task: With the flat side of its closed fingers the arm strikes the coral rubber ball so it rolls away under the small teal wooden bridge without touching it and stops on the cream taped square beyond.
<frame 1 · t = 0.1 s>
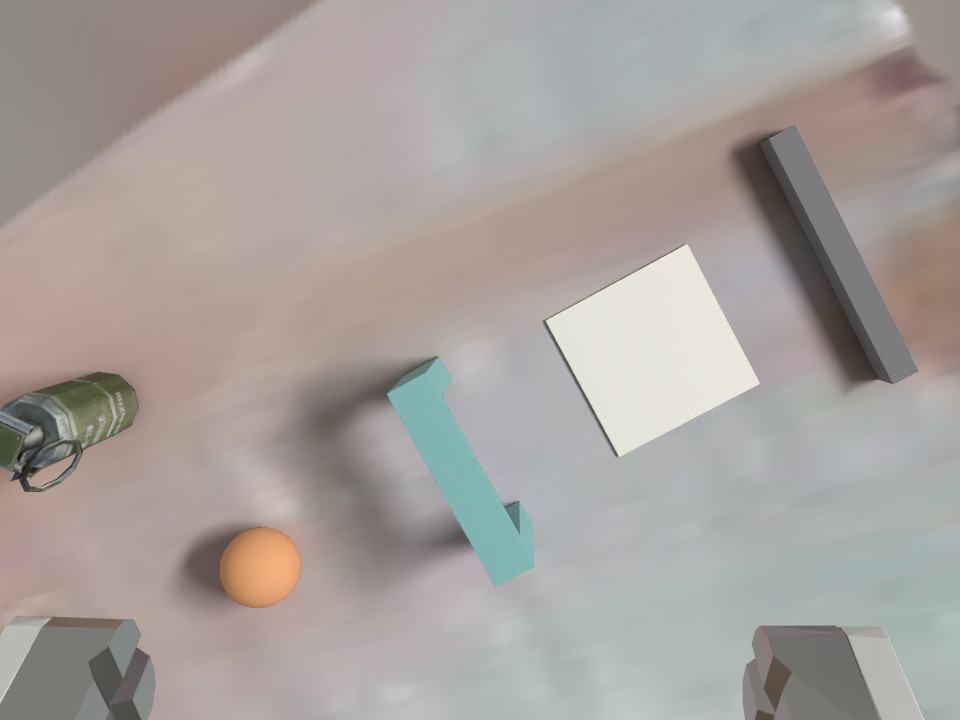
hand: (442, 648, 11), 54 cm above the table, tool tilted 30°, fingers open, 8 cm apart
grenade: (117, 408, 67), on the table
ball: (260, 567, 65), on the table
bridge: (468, 449, 66), on the table
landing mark: (652, 351, 65), on the table
stopper: (831, 256, 64), on the table
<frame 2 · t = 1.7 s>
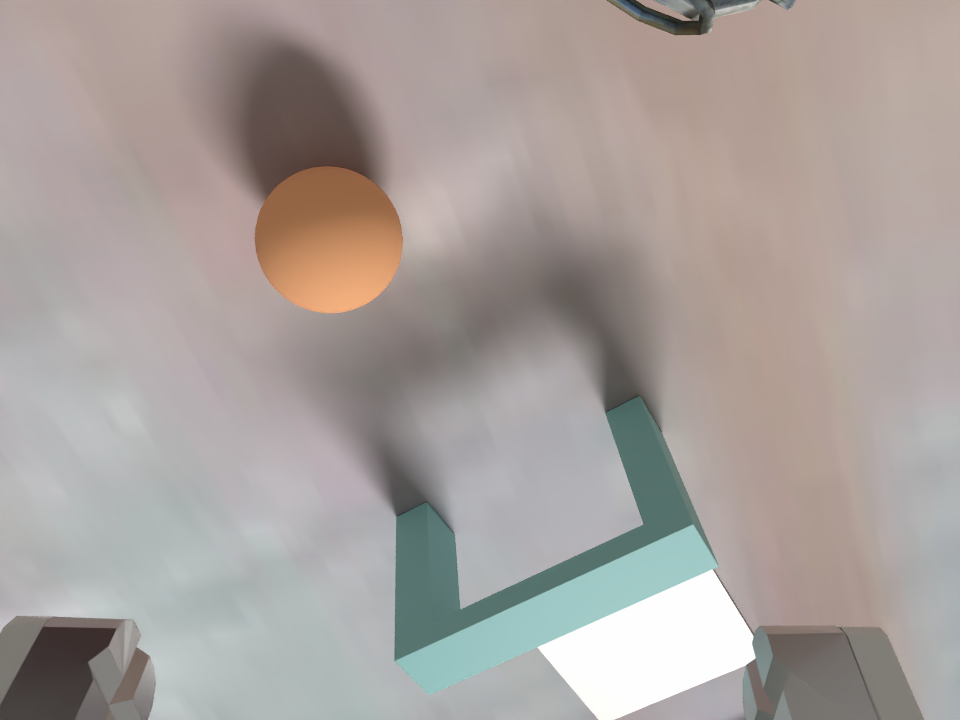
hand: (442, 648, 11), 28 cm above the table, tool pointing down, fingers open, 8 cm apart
ball: (329, 240, 35), on the table
bridge: (527, 476, 46), on the table
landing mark: (645, 639, 54), on the table
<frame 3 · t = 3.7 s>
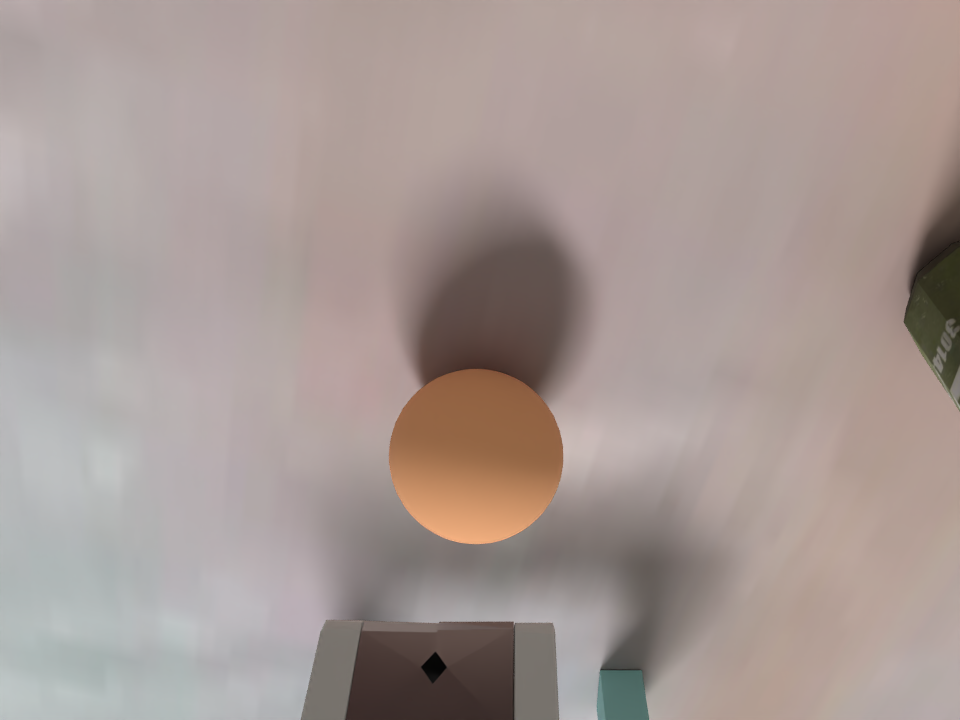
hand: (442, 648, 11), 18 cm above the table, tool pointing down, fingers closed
grenade: (949, 278, 29), on the table
ball: (476, 455, 29), on the table
bridge: (487, 688, 42), on the table
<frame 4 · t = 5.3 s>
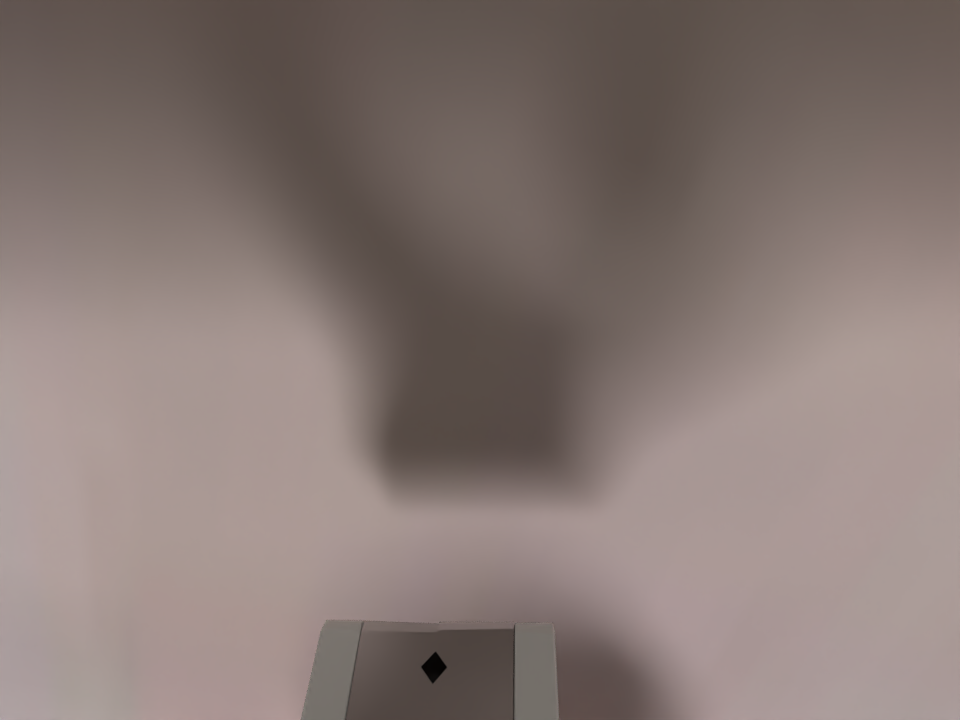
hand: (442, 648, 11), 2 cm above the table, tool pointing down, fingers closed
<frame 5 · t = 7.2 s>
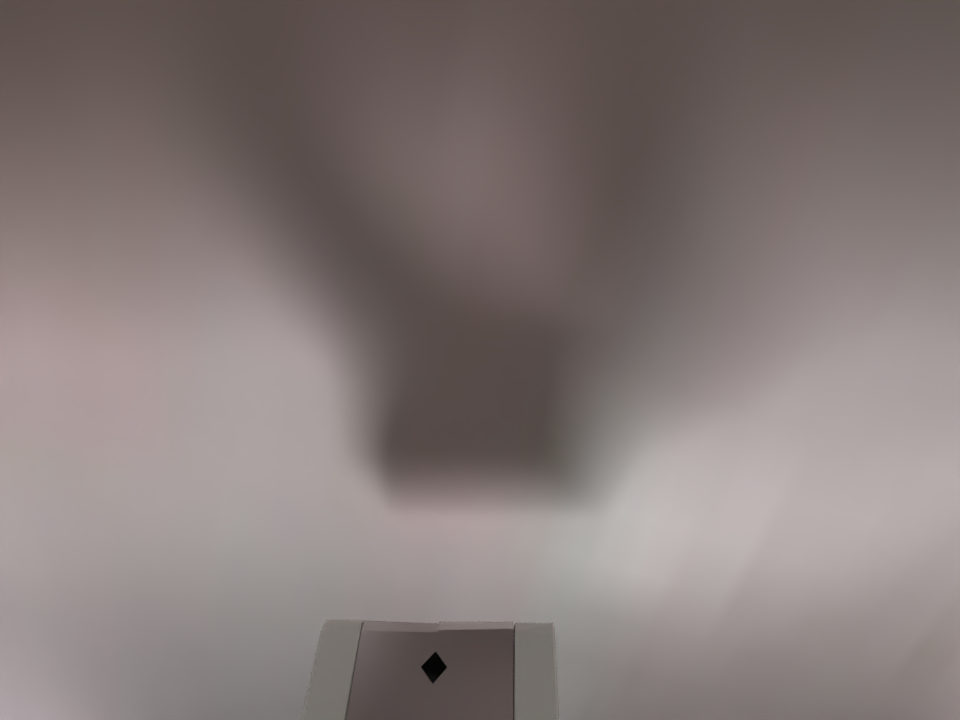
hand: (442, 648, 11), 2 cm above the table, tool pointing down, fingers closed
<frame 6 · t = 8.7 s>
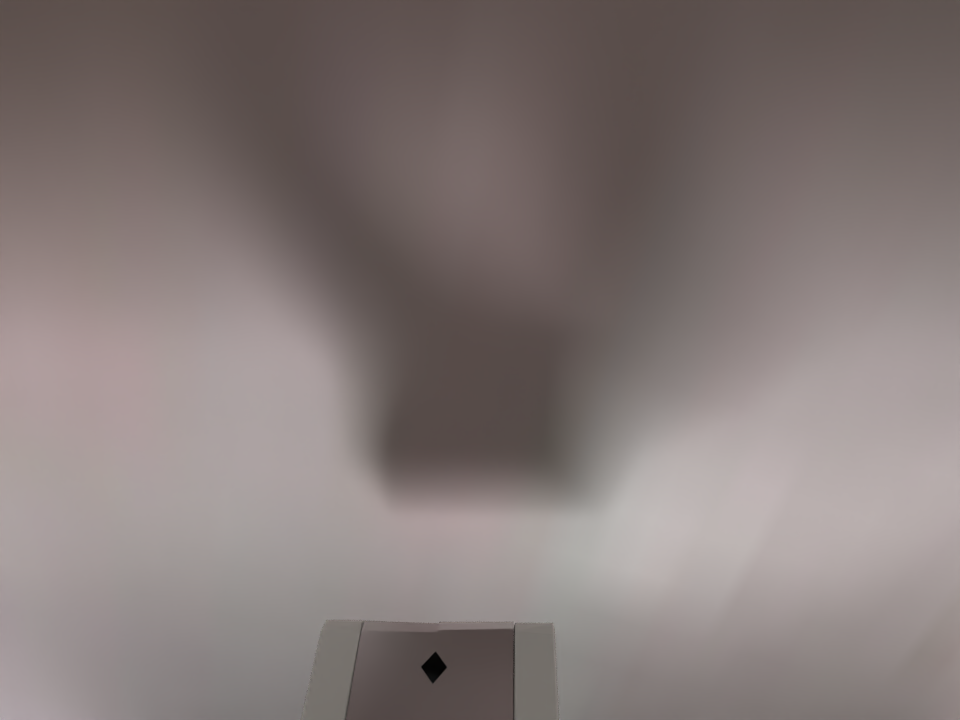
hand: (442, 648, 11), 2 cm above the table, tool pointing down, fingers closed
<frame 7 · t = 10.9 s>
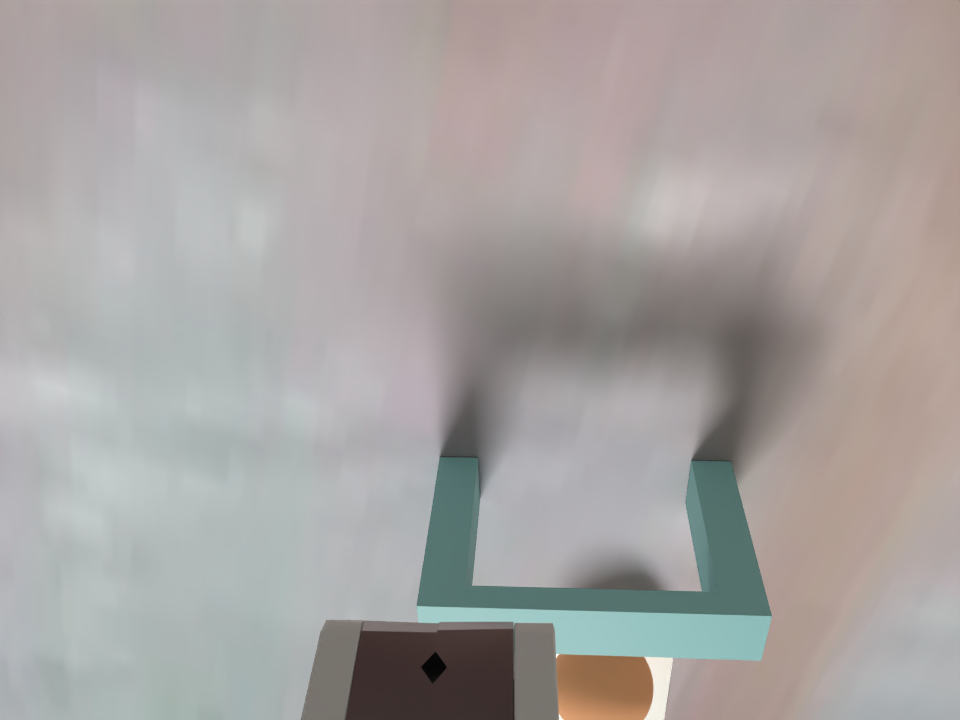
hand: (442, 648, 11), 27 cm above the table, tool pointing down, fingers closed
ball: (601, 684, 50), on the table
bridge: (582, 480, 45), on the table
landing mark: (574, 666, 54), on the table
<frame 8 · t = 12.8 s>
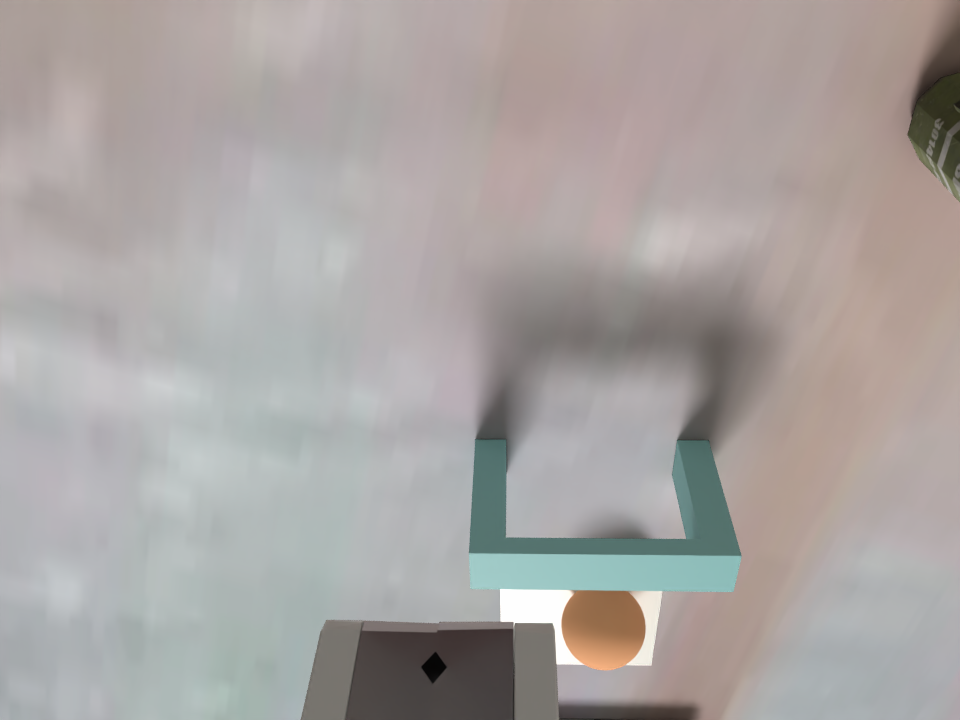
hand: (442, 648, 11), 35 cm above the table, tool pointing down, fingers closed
grenade: (938, 107, 42), on the table
ball: (603, 625, 61), on the table
bridge: (590, 457, 56), on the table
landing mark: (579, 614, 65), on the table
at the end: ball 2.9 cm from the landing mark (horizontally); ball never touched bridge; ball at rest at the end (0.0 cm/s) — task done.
